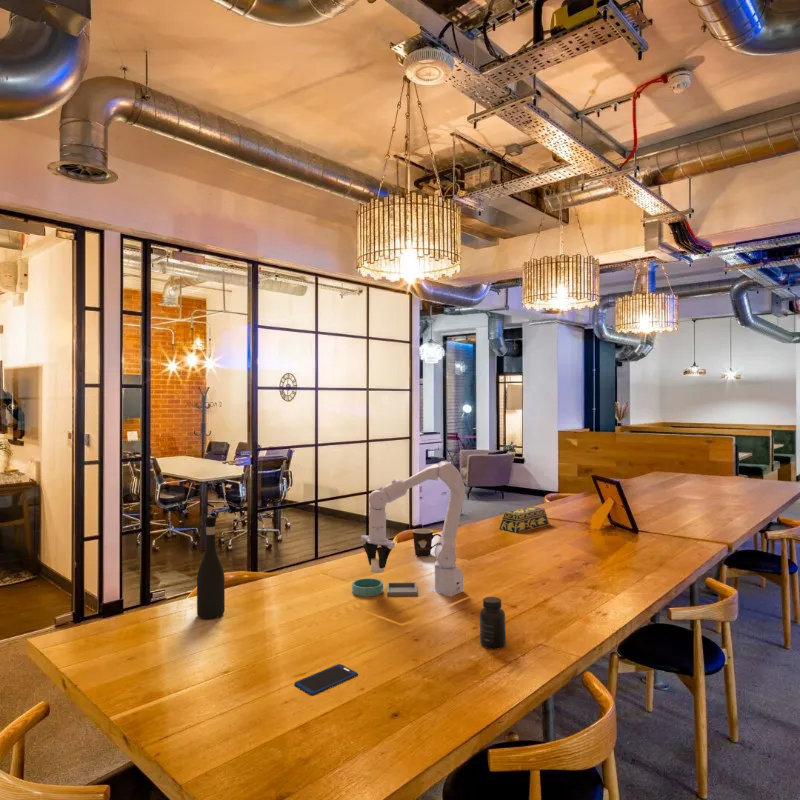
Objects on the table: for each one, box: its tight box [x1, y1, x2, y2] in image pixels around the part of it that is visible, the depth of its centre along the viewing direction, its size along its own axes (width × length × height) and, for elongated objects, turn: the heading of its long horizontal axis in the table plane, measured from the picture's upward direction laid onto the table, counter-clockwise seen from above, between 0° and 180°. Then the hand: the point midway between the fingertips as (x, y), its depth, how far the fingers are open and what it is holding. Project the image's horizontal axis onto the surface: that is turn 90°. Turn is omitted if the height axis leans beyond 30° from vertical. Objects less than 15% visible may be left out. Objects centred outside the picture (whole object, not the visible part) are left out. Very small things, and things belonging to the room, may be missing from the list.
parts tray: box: [386, 581, 418, 597], centre depth 195 cm, size 10×10×2 cm
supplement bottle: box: [479, 596, 507, 650], centre depth 153 cm, size 7×7×12 cm
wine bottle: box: [196, 515, 226, 620], centre depth 174 cm, size 8×8×30 cm
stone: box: [370, 556, 385, 574], centre depth 194 cm, size 4×4×4 cm
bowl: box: [351, 577, 384, 598], centre depth 194 cm, size 10×10×3 cm
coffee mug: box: [412, 528, 442, 557], centre depth 241 cm, size 12×9×10 cm
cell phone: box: [293, 663, 359, 696], centre depth 134 cm, size 7×14×1 cm, turn 135°
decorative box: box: [498, 505, 550, 534], centre depth 294 cm, size 11×30×9 cm, turn 132°
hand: (377, 566), depth 194 cm, fingers closed on stone, 4 cm apart
